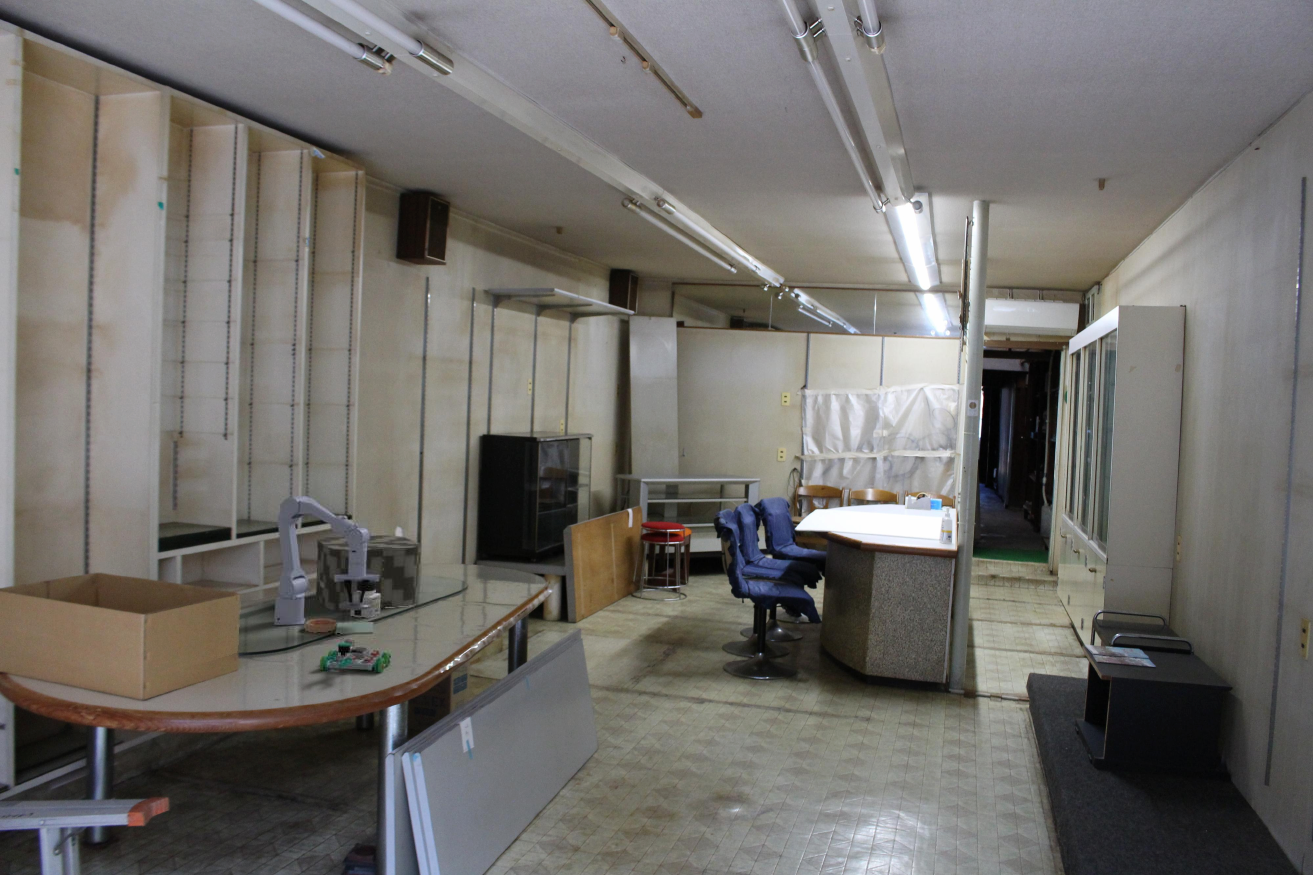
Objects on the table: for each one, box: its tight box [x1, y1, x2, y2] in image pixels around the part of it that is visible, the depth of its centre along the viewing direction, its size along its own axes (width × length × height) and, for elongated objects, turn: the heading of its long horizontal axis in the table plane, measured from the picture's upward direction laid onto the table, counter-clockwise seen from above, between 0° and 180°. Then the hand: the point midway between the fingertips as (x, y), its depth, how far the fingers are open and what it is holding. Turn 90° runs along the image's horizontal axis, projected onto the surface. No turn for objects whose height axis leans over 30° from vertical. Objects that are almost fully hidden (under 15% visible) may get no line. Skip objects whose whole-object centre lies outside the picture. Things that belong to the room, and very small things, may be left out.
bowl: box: [304, 618, 337, 634], centre depth 305 cm, size 10×10×2 cm
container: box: [350, 581, 381, 619], centre depth 329 cm, size 8×8×13 cm
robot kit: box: [319, 638, 392, 674], centre depth 259 cm, size 19×25×9 cm
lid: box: [339, 592, 373, 610], centre depth 308 cm, size 11×11×5 cm
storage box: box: [315, 534, 422, 612], centre depth 353 cm, size 35×35×23 cm
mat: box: [334, 621, 374, 635], centre depth 309 cm, size 12×14×1 cm
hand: (355, 602), depth 308 cm, fingers closed on lid, 3 cm apart
